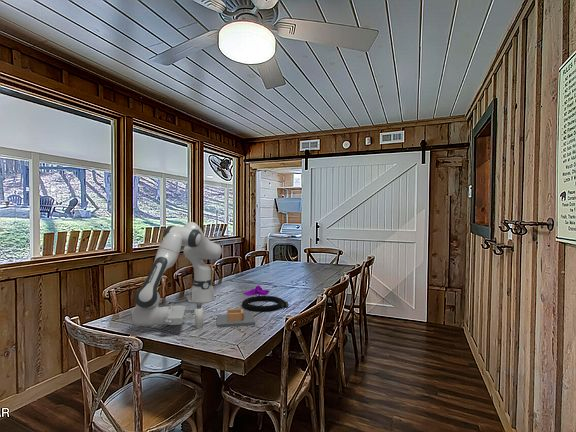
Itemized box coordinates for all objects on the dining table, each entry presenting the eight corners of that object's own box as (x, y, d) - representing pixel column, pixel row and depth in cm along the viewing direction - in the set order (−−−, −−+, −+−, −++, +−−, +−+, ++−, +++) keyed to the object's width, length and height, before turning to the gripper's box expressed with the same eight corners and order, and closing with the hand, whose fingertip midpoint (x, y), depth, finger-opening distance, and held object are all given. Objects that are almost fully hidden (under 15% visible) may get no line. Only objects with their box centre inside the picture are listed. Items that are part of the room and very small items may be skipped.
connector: (193, 326, 171) (194, 302, 171) (201, 325, 174) (201, 301, 174) (196, 329, 168) (196, 304, 168) (204, 327, 170) (204, 302, 170)
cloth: (240, 296, 236) (240, 287, 236) (249, 289, 254) (249, 282, 254) (270, 298, 231) (270, 289, 231) (276, 291, 249) (276, 283, 249)
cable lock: (249, 293, 227) (292, 296, 221) (249, 299, 227) (292, 302, 221) (235, 305, 200) (283, 308, 194) (235, 311, 200) (283, 314, 194)
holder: (217, 327, 171) (217, 317, 171) (216, 317, 186) (216, 308, 186) (255, 324, 175) (255, 314, 175) (251, 315, 191) (251, 306, 191)
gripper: (162, 316, 157) (192, 314, 160) (168, 303, 177) (194, 302, 180) (162, 329, 157) (192, 327, 160) (168, 315, 177) (194, 313, 180)
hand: (193, 314), depth 170 cm, fingers open, 8 cm apart
